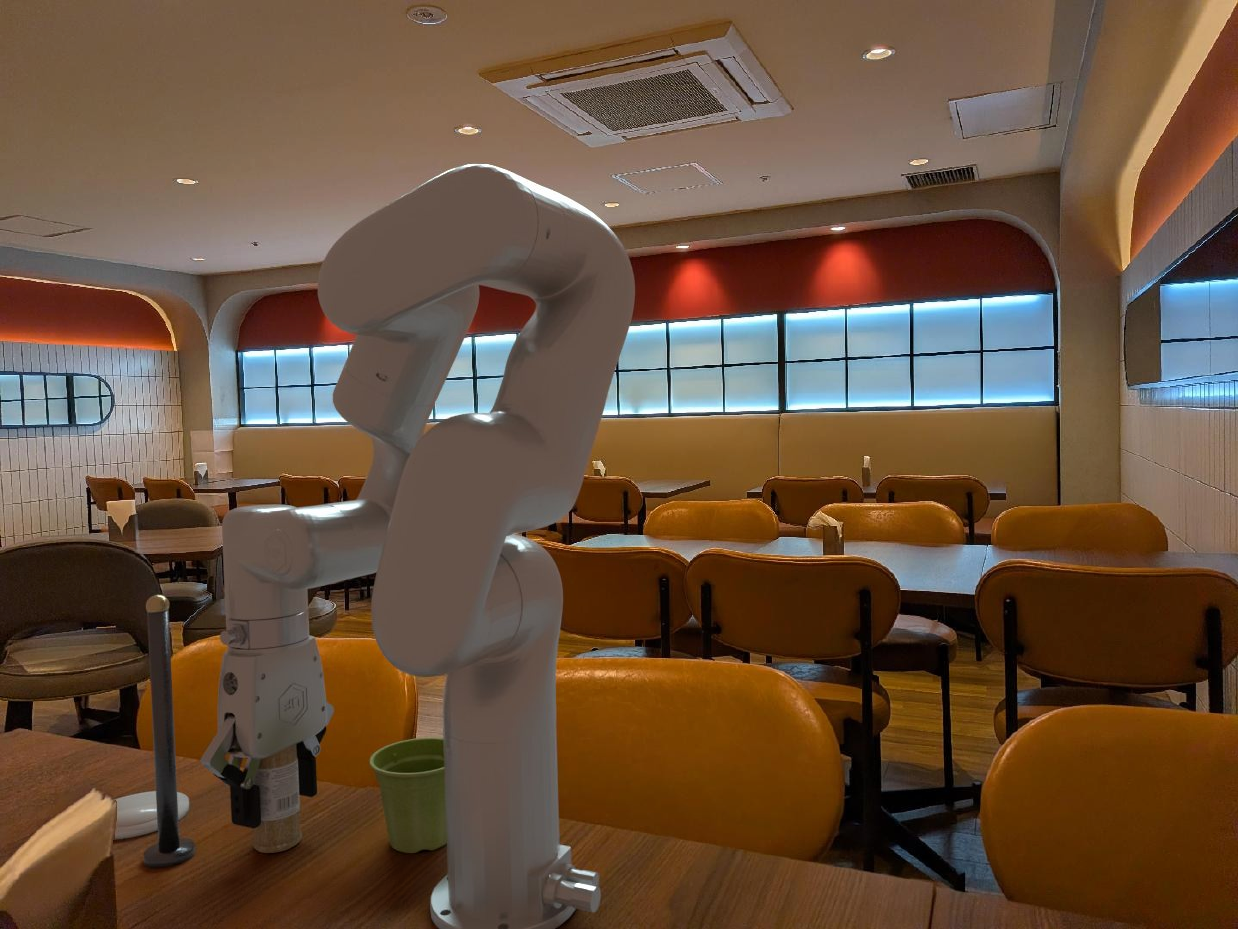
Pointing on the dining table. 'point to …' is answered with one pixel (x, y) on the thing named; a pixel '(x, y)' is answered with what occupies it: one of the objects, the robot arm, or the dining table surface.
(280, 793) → the sprinkles bottle
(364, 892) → the dining table surface
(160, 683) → the pair of dark posts
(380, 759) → the plant pot
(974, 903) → the dining table surface
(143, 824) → the white round disc
